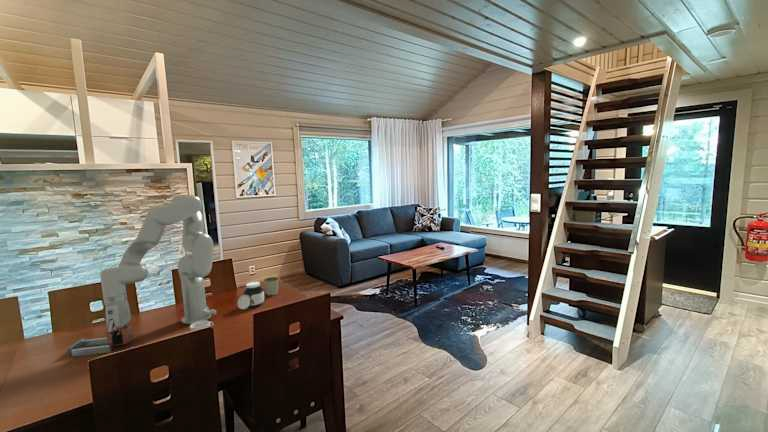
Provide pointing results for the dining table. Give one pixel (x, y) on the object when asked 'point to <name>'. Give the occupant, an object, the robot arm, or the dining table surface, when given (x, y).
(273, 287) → the flower pot
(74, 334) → the dining table surface
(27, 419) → the dining table surface
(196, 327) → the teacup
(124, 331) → the lock block
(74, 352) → the hitch channel
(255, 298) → the spread jar
